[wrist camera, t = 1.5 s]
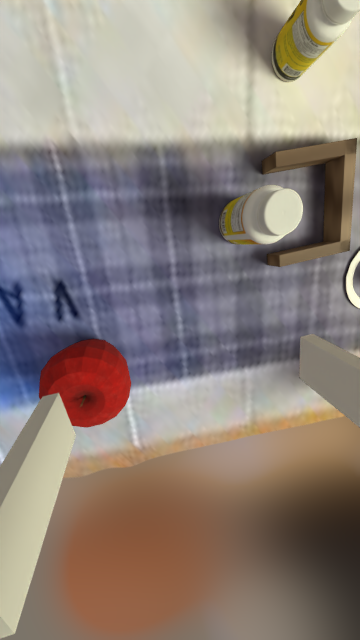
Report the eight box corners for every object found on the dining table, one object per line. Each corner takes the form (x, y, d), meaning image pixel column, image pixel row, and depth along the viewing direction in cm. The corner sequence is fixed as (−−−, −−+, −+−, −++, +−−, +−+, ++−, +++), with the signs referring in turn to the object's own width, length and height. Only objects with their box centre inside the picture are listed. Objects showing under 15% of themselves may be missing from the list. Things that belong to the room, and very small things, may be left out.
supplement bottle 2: (299, 18, 25) (376, -86, 17) (313, 68, 27) (388, -5, 19) (263, 44, 25) (321, -48, 17) (279, 92, 27) (339, 29, 19)
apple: (43, 348, 31) (-1, 400, 21) (104, 312, 31) (90, 345, 21) (89, 398, 34) (70, 462, 24) (143, 365, 34) (148, 416, 24)
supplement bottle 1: (263, 225, 31) (320, 217, 22) (232, 253, 32) (275, 257, 22) (241, 189, 29) (294, 162, 20) (209, 219, 30) (244, 207, 20)
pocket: (261, 160, 29) (275, 152, 26) (336, 147, 30) (356, 138, 27) (267, 264, 33) (279, 266, 30) (331, 250, 34) (349, 250, 32)
